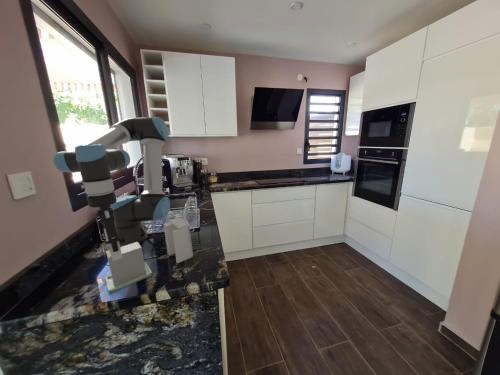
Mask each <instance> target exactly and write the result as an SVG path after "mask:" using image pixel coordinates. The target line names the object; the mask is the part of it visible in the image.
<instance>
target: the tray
mask: <svg viewBox="0 0 500 375" xmlns="http://www.w3.org/2000/svg"><path fill="white" fill-rule="evenodd" d="M144 264H145V270H146V274H144V275H142V276H139V277H137V278H135V279H132V280H130V281H128V282H125V283H123V284H120V285H118V286H116V287H115V286H114V283H113V279H112V275H111V274H110V275H107V276H105V277H104V278H105V281H106V286H107V290H108V294H112V293H115V292H116V291H119V290H121V289H124V288H125V287H128V286H130V285H133V284H135V283H137V282H140V281H142V280H144V279H148V278H149V277H151V276H153V271H152V270H151V268H150V267H149V265H148V263H147V262H146V261H144Z"/></svg>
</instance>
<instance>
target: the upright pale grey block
mask: <svg viewBox="0 0 500 375" xmlns="http://www.w3.org/2000/svg"><path fill="white" fill-rule="evenodd" d="M140 244H141V243H138V242H135V243H132V244H129V245H126V246H122V247H120V248H121V253H122V257H123V258H121V259H118V260H115V261H113V260H112V256H111V252H110V249H108V250H107V251H106V252H105V253H106V257H107V262H108V266H109V270H110V275H112V279H113V283H114V286H115V287H116V286H118V285H120V284H123V283H125V282H128V281H130V280H132V279H135V278H137V277H139V276H142V275H144V274H146V270H145V264H144V262H145V261H144V260H145V259H144V254H143V248H142V247H143V246H141V245H140Z"/></svg>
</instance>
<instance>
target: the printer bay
mask: <svg viewBox="0 0 500 375" xmlns="http://www.w3.org/2000/svg"><path fill="white" fill-rule="evenodd" d="M190 226H191V225H190V223H188V222H186V221H185V220H184V219H181V218H180V217H176V218H172V219H168V222H166V223H163V230H164V236H165V243H166V244H165V246H166V250H167V254H168V255H169V256H172V255H175V261H176V264H179V263H181V262H184V261H187V260H189V259H191V258H193V257H194V251H193V250H194V249H193V242H192V236H191V228H190Z"/></svg>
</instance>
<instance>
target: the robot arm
mask: <svg viewBox="0 0 500 375" xmlns="http://www.w3.org/2000/svg"><path fill="white" fill-rule="evenodd" d="M169 136H170V134H169V129H168V126H167V124H166V122H165V120H164V119H163V118H161V117H160V116H155V117H154V116H150V117H149V116H148V117H146V116H145V117H129V118H126V119H123V120H121V121H118V122H116V123H115V124H113V125H111V126H110V127H109V130H106V131H105V132H103V133H101V134H100V135H97V136H96V137H94V138H92V139H91V140H89V141H86V142H85V143H83V144H78V145H76V146H74V149H73V150H72V149H71V150H64V151H59V152H57V153H55V155H54V157H53V165H54V166H55V167H56V169H57V170H58V171H59V172H63V173H80V176H81V179H82V180H81V181H82V185H81V186H80V187H81V189H84V191H85V194H86V202H87V204H88V207H89V208H92V209H93V208H94V209H95V208H98V210H97V211H96V212H97V216H98V217H99V219H100V222H101V225H102V228H103V232H104V236H105V240H106V241H105V244H106V245H107V246H108V247H109V250H110V252H111V256H112V260H113V261H115V260H118V259H121V258H123V257H122V253H121V248H120V247H122V246H126V245H129V244H132V243H135V242H138V243H139V244H141V243H143V242H145V240H147V238H148V232H147V230H146V229H145V228H144V227H145V226H144V225H143V224H142V222H148V221H149V222H152V221H153V222H157V221H162V220H165V219H166V218H167V217H168V215H169V213H170V209H171V201H170V198H169V197H167V196H166V192H164V190H163V163H162V162H163V160H162V159H163V156H162V153H163V152H162V151H163V150H162V149H163V148H162V147H163V146H164V145H165V143H166V142H165V141H166V140H169ZM135 141H138V142H140V144H141V145H143V150H142V151H143V152H142V153H143V191H142V192H141V193H140V194H139V195H140V196H139V197H140V198H138V196H137V195H135V194H133V195H127V196H122V197H120V198H119V197H118V198H117V196H116V192H115V191H114V190H115V186H114V181H113V178H112V174H111V172H114V171H118V170H122V169H123V170H124V169H125V168H127V167H128V166H129V165H130V164H131V157H130V155H129V153H128V152H127V151H126V150H125V149H121V148H118V147H119V146H121V145H123V144H127V143H129V142H135Z"/></svg>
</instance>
